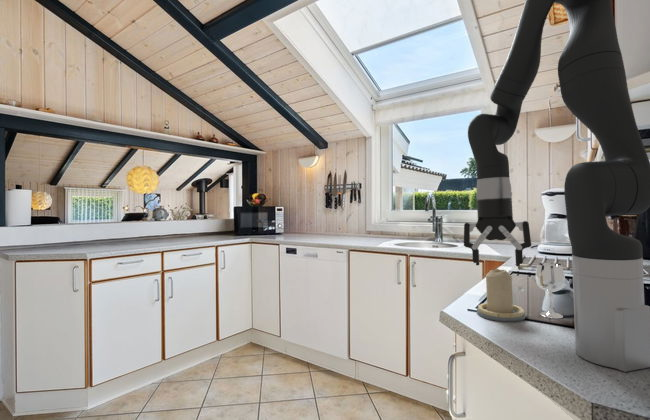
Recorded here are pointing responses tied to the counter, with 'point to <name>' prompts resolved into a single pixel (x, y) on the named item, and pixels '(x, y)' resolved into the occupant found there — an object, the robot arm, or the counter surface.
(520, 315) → the beige ring
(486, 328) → the counter surface
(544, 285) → the wineglass
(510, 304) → the candle
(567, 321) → the counter surface
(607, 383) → the counter surface
